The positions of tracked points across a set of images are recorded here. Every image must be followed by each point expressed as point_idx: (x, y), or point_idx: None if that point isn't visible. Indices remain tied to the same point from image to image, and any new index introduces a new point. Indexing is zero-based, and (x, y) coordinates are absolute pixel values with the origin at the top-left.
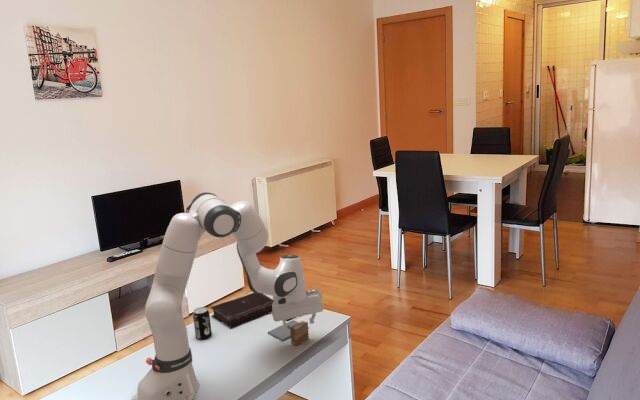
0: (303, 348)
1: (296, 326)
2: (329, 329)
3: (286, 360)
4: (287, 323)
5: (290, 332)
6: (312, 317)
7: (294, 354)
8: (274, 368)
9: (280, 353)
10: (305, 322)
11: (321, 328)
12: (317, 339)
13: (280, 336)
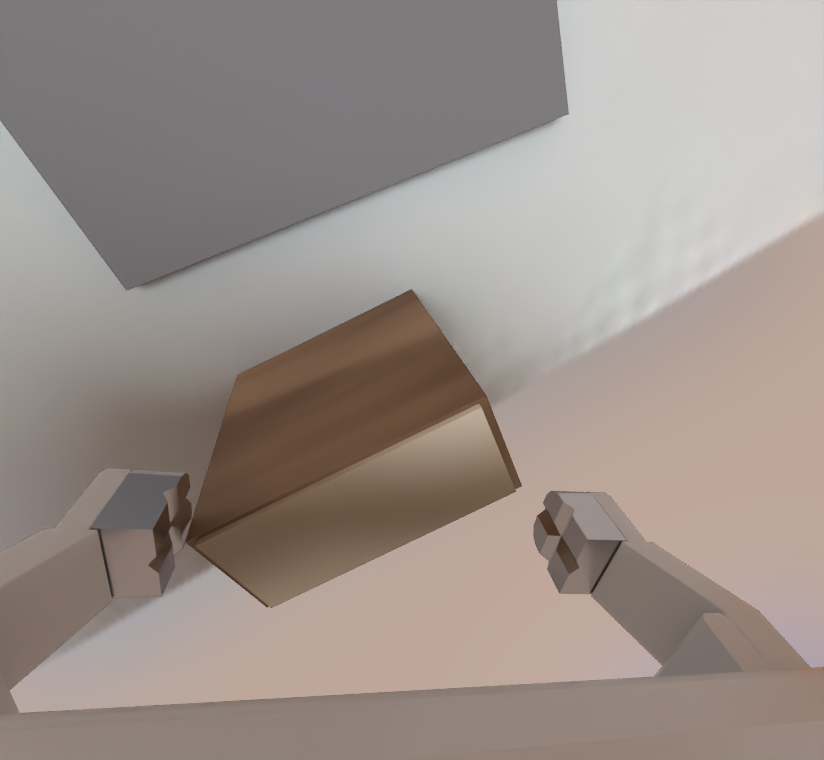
0: None
1: (306, 554)
2: (698, 269)
3: None
4: (115, 533)
5: (208, 471)
6: (631, 607)
7: None
8: None
9: None
10: (493, 482)
11: (662, 202)
12: (504, 396)
13: (94, 176)
